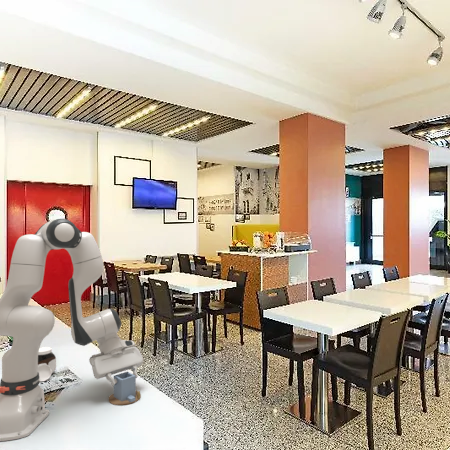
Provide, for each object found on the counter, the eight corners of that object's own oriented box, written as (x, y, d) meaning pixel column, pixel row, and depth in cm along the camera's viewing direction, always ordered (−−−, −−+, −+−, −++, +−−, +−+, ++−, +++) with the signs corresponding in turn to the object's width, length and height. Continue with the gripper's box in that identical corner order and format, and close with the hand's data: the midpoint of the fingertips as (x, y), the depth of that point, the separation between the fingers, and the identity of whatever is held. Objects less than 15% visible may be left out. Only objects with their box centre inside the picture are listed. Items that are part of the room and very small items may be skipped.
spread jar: (48, 370, 177) (48, 344, 177) (64, 374, 171) (63, 348, 171) (23, 379, 166) (23, 352, 166) (39, 384, 161) (38, 357, 160)
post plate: (102, 398, 148) (102, 381, 148) (130, 388, 156) (130, 372, 156) (118, 408, 139) (118, 390, 139) (146, 397, 148) (146, 380, 148)
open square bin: (113, 396, 148) (113, 375, 148) (127, 391, 152) (127, 371, 152) (125, 404, 141) (125, 382, 141) (140, 398, 145) (139, 377, 145)
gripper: (90, 351, 145) (103, 385, 138) (137, 340, 160) (150, 369, 153) (85, 360, 148) (97, 393, 141) (131, 348, 163) (144, 377, 156)
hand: (125, 381), depth 147 cm, fingers open, 7 cm apart
